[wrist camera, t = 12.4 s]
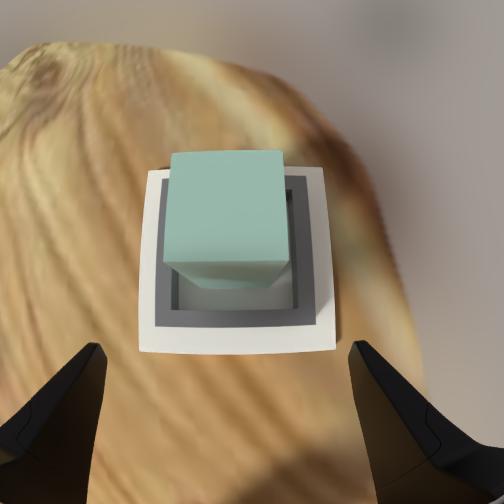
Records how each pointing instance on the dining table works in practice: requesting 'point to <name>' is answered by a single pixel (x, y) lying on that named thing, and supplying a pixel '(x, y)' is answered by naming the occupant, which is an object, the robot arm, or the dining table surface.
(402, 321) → the dining table surface
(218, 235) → the teal green block
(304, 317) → the white grey square base
